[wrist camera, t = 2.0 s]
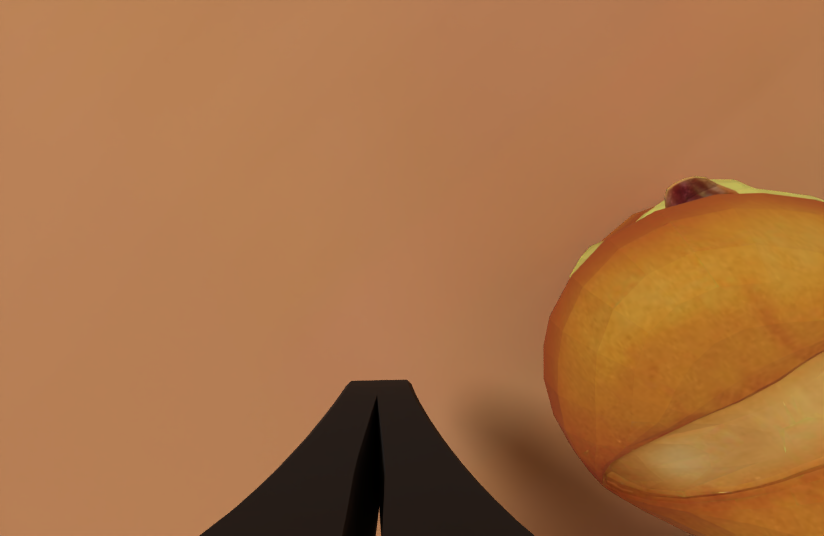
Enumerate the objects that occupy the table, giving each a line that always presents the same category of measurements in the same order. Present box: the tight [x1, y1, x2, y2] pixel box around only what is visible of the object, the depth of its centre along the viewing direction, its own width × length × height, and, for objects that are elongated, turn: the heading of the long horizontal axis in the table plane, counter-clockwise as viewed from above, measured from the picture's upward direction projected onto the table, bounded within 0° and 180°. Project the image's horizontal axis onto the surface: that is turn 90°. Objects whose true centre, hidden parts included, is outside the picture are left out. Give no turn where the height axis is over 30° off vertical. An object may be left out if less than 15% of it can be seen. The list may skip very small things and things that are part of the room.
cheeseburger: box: [544, 176, 824, 536], centre depth 12 cm, size 10×11×10 cm
